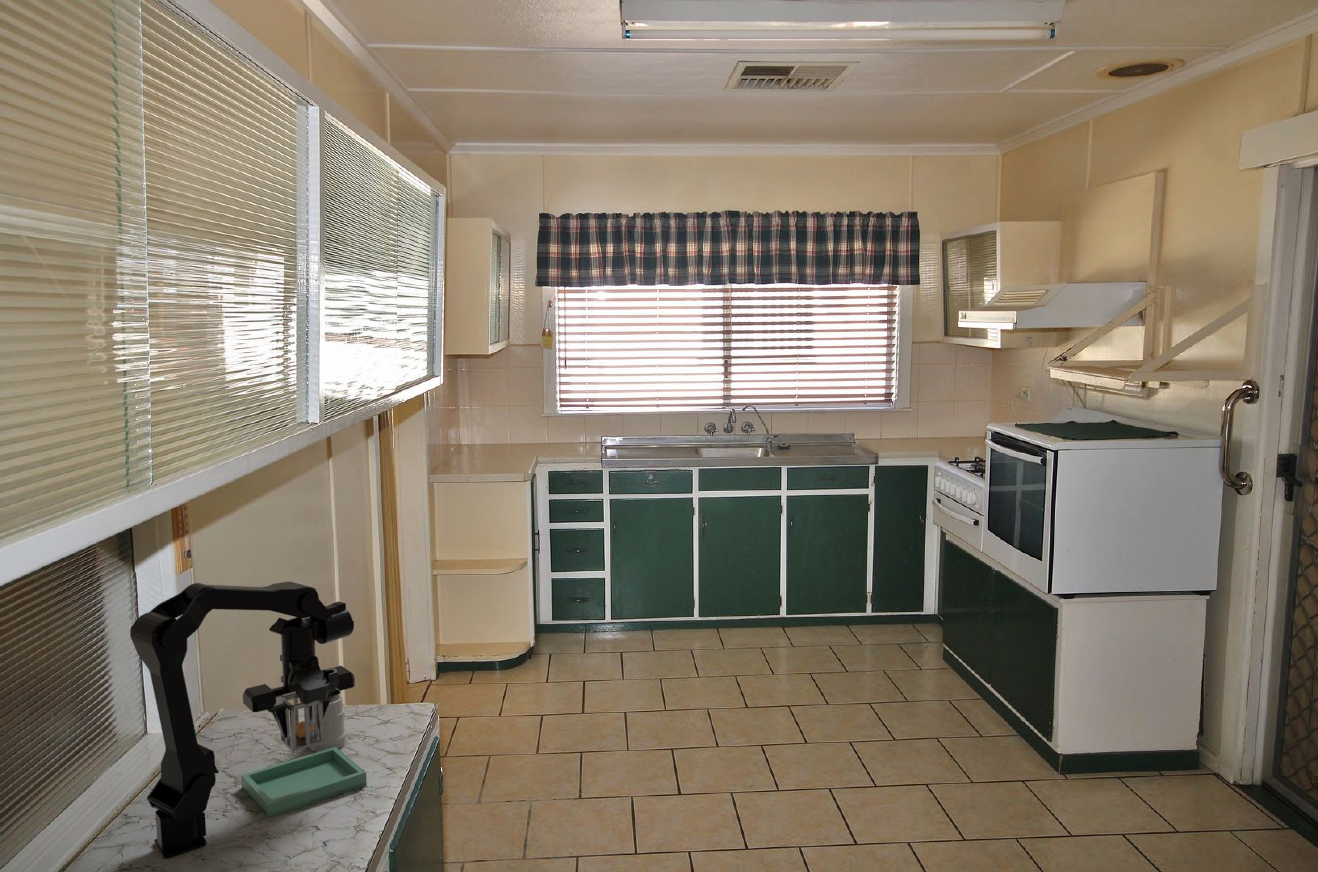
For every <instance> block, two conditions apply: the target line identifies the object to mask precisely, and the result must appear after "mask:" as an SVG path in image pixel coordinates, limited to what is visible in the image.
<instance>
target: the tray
mask: <svg viewBox="0 0 1318 872" xmlns="http://www.w3.org/2000/svg"><path fill="white" fill-rule="evenodd" d="M240 778H241V789H242V790H243V791H244V792H245V793H246V794H247V796H248V797H250V799H251V801H253V802H254V803H255V805H257V806H258V808H259V809H260V810H261V811H262V812H263V813H264V814H265V816H266V817H267V818H272V817H275V816H278V815H281V814H285V813H287V812H290V811H293V810H297V809H299V808H302V807H305V806H308V805H312V804H315V803H317V802H321V801H323V800H326V799H329V798H331V797H335V796H338V795H341V794H344V793H347V792H349V791H350V792H351V791H353V790H355V789H359V788H362V787H365V786H367V785H368V783H367V771H365V770H364V769H363V768H361V766H359V765H358V764H357V763H356V762H354V760H352V759H351V758H350V757H348V756H347V755H346V754H345V752H343V751H341V750H340V748H337V747H333V748H329V749H326V750H323V751H319V752H317V751H315V752H313V753H310V754H307V755H303V756H300V757H296V758H292V759H289V760H287V761H284V762H280V763H277V764H273V765H270V766H266V767H263V768H260V769H257V770H253V771H251V772H246V773H243V774H241V775H240Z"/></svg>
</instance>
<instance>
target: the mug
mask: <svg viewBox="0 0 1318 872" xmlns="http://www.w3.org/2000/svg"><path fill="white" fill-rule="evenodd" d="M344 717H345V708H344V706H343V696H342V694H341V693H340V694H339V695H336V696H335V697H334V698H333V699H332V700H331V701H330V703H329V705H328V707H327V710H326V713H325V716H324V719H323V729H324V743H322V744H318V745H315V746H311V747H308V748H309V750H310V751H312V752H319V751H323V750H326V749H329V748H333V747H337V748H338V749H340V748H342V747H344V746H345V745H346V739H347V736H348V735H347V734H348V732H347V730H346V729H345V718H344ZM312 718H313V706H312ZM313 731H314V723H313ZM318 736H319V729H318ZM343 745H344V746H343Z"/></svg>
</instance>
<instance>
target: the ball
mask: <svg viewBox="0 0 1318 872" xmlns="http://www.w3.org/2000/svg"><path fill="white" fill-rule="evenodd" d="M309 732H310V734H311V732H312V725H311V724H310V723H309ZM295 733H296V735H297V736H298V737H301V738H305V720H302V721H299V723H298V724H297V725H296V728H295Z"/></svg>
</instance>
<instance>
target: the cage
mask: <svg viewBox="0 0 1318 872" xmlns="http://www.w3.org/2000/svg"><path fill="white" fill-rule="evenodd" d="M291 700H292V701H293V704H292V703H291V702H289V701H291ZM282 703H283V704H284V705H285V706H286V707H287V708H286V711H285V716H286V723H287V738H284V737H283V735H282V733H281V731H280V730H279V731H280V742H281V743H282V744H283V745H284V746H285V747H286V748H288V749H289V750H290V752H292V753H294V752H298V751H300V750H304V749H307V748H309V747H311V746H315V745H318V744H322V743H324V729H323V701H322V700H318V701H314V702H311V703H310V704H303V703H301V702H300V703H299V697H298V696H297V694H294V695H290V696H286V697H282ZM317 704H318V711H317ZM312 706H313V718H312ZM301 709H303V715H304V717H303V718H304V720H303V721H305V738H301V737H298V736H297V735H296V733H295V728H296V725H297V724H298V723H299V722H300V720H299V710H301ZM318 715H319V736H318ZM309 723H310V724H311V725H312V732H311V734H310V732H309ZM313 723H314V731H313Z"/></svg>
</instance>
